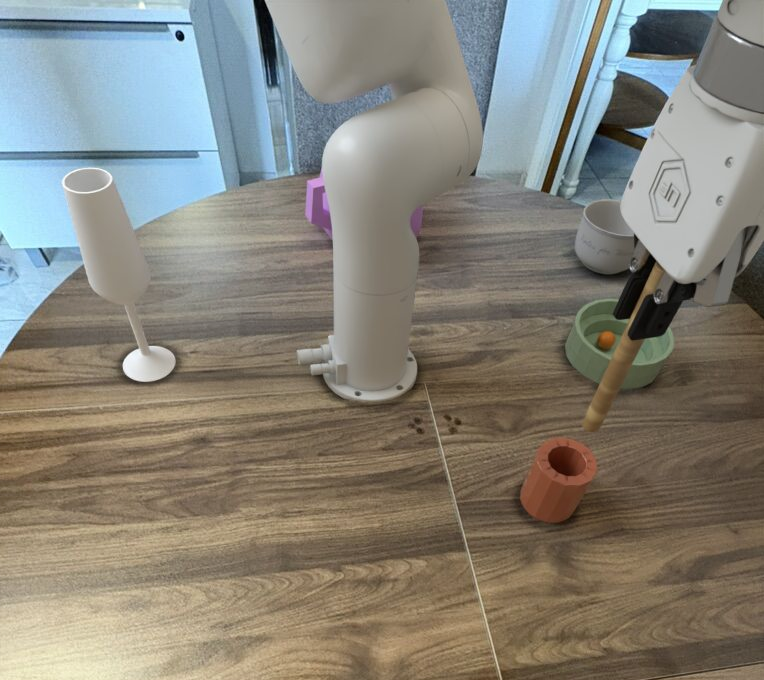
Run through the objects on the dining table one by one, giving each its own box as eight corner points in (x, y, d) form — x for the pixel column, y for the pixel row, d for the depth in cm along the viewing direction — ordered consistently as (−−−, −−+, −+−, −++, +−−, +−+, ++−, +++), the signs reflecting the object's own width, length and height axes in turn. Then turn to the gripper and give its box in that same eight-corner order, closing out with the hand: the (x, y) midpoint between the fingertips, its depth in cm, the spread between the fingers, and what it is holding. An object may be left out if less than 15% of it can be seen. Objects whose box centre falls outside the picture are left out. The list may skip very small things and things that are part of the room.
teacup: (561, 271, 97) (577, 223, 90) (575, 235, 103) (592, 188, 96) (648, 296, 95) (672, 250, 88) (658, 258, 100) (681, 212, 94)
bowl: (588, 399, 82) (602, 371, 77) (549, 333, 88) (559, 304, 84) (675, 385, 84) (692, 357, 80) (630, 322, 91) (644, 293, 87)
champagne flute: (168, 340, 83) (114, 157, 63) (181, 373, 80) (130, 191, 60) (117, 353, 81) (45, 168, 61) (129, 387, 78) (57, 204, 58)
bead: (593, 346, 87) (596, 345, 85) (598, 329, 87) (602, 328, 84) (609, 351, 87) (614, 350, 85) (615, 334, 86) (620, 333, 84)
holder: (531, 531, 69) (551, 490, 63) (510, 485, 73) (527, 442, 66) (582, 521, 71) (607, 479, 64) (559, 476, 74) (581, 433, 67)
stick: (586, 434, 60) (663, 274, 45) (578, 420, 61) (651, 259, 46) (602, 430, 60) (684, 271, 45) (595, 417, 61) (672, 256, 46)
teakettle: (302, 249, 96) (297, 168, 86) (334, 193, 105) (334, 115, 95) (407, 272, 94) (415, 193, 84) (431, 213, 104) (441, 136, 93)
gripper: (642, 16, 39) (556, 272, 54) (796, 141, 30) (643, 402, 46) (744, 13, 40) (632, 263, 55) (917, 131, 32) (729, 387, 47)
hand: (637, 324), depth 50 cm, fingers closed on stick, 1 cm apart
